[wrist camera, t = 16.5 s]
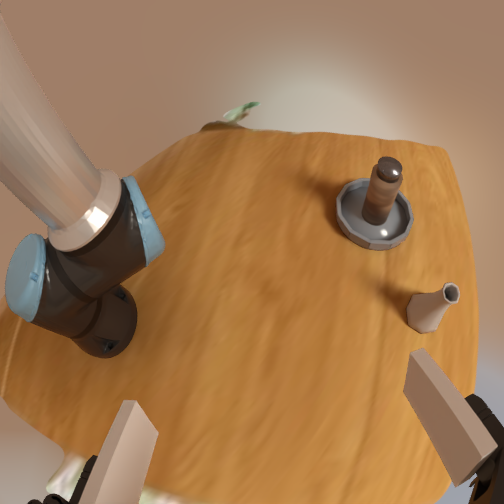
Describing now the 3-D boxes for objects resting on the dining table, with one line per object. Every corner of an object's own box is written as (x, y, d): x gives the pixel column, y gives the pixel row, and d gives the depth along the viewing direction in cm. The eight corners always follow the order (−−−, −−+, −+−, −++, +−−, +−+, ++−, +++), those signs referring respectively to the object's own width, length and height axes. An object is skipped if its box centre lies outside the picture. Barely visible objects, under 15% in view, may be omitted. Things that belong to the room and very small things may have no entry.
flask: (408, 289, 41) (432, 263, 32) (442, 297, 38) (470, 274, 30) (402, 330, 38) (428, 312, 29) (438, 337, 36) (469, 322, 27)
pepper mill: (362, 224, 47) (377, 175, 36) (360, 202, 49) (372, 152, 38) (388, 226, 46) (409, 179, 35) (385, 204, 48) (401, 155, 37)
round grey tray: (337, 248, 46) (338, 241, 44) (333, 184, 53) (334, 176, 51) (414, 252, 43) (419, 245, 41) (401, 189, 50) (404, 181, 48)
